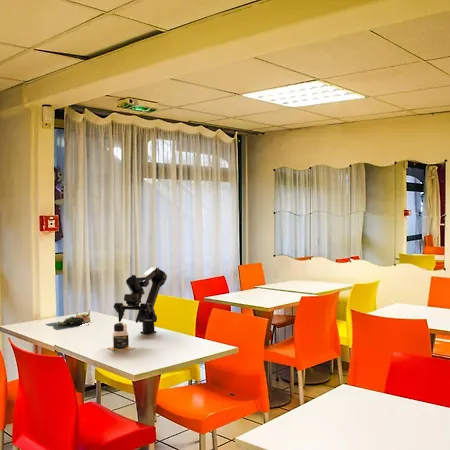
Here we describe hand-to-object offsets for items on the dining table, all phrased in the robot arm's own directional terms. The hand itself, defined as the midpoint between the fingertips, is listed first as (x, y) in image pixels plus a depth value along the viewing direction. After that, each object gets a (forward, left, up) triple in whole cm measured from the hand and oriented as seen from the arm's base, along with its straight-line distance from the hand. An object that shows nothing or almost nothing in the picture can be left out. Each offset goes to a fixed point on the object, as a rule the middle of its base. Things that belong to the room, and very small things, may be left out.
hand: (127, 322), depth 262 cm
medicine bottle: (+4, -7, -11) cm, 14 cm away
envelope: (+3, -7, -11) cm, 14 cm away
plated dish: (-68, +12, -12) cm, 71 cm away
